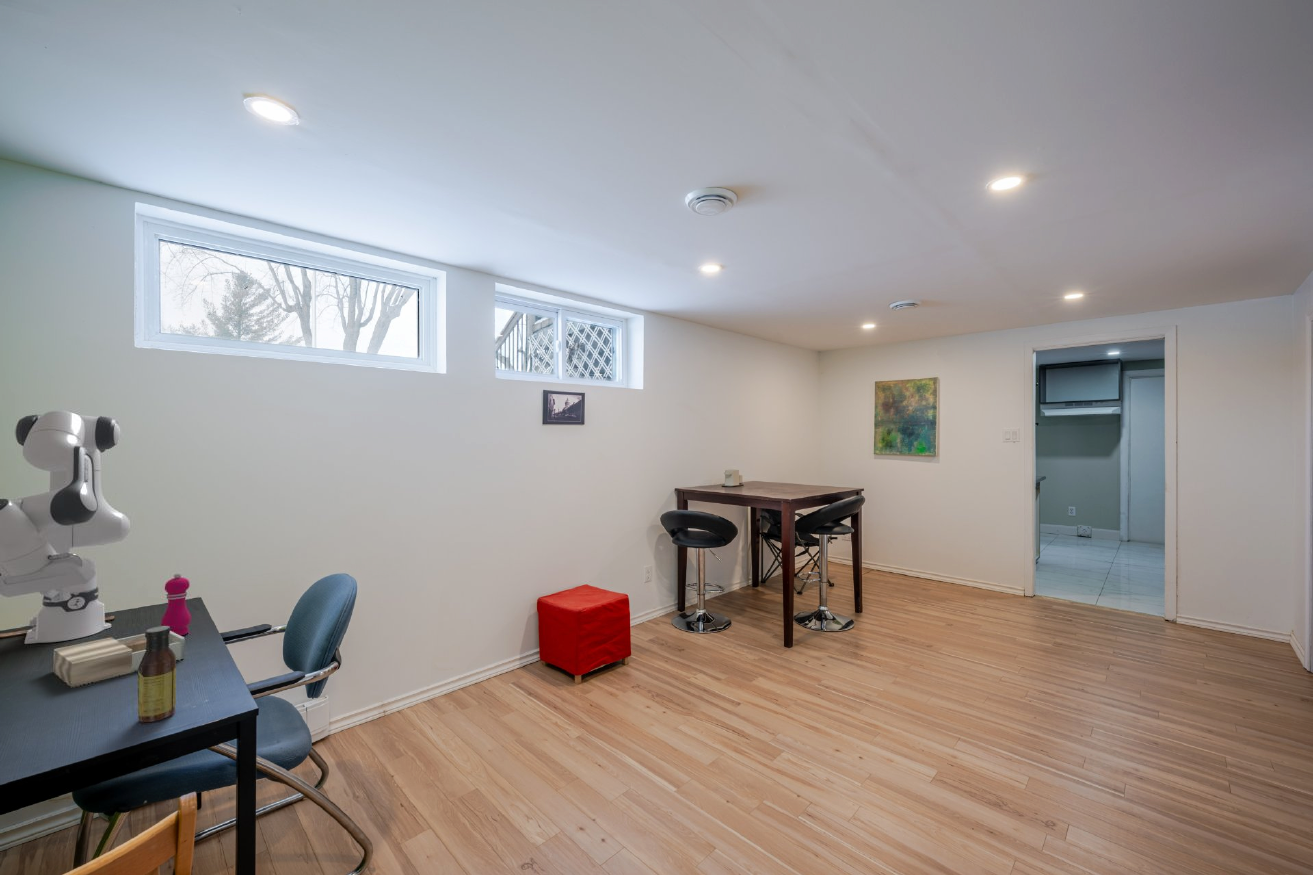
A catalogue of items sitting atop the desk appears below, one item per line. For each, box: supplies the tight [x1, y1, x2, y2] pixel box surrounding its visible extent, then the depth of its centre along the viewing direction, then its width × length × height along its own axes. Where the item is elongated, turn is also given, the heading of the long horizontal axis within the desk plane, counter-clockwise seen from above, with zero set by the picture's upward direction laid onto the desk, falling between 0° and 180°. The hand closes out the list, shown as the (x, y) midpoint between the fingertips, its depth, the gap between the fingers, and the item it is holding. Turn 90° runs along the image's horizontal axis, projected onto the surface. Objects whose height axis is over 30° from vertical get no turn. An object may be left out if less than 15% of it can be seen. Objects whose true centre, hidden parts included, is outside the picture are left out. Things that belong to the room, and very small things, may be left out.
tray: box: [116, 631, 186, 673], centre depth 152 cm, size 18×11×6 cm, turn 58°
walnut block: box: [122, 637, 146, 653], centre depth 150 cm, size 5×5×8 cm
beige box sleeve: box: [52, 636, 133, 689], centre depth 142 cm, size 18×11×6 cm, turn 58°
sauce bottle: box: [137, 625, 177, 723], centre depth 119 cm, size 7×6×20 cm
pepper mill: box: [160, 572, 192, 637], centre depth 171 cm, size 7×7×20 cm
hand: (63, 599), depth 140 cm, fingers closed
